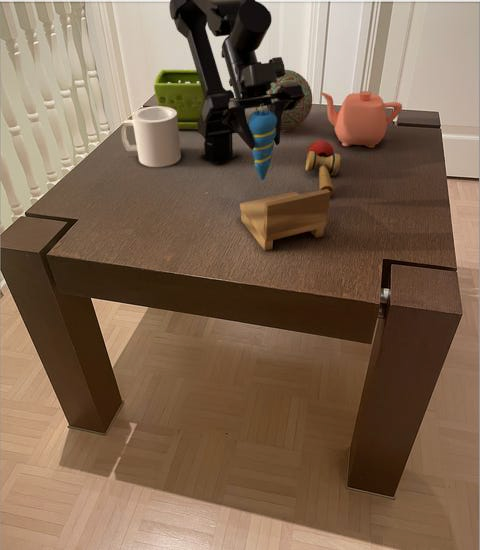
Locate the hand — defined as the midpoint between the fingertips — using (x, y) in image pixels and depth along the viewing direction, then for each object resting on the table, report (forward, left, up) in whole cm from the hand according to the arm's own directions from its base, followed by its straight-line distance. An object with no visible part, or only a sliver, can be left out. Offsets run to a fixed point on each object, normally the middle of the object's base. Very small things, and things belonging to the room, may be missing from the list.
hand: (265, 146), depth 84 cm
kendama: (-19, +2, -13) cm, 23 cm away
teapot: (-42, -3, -13) cm, 44 cm away
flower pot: (-22, -45, -13) cm, 52 cm away
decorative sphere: (-36, -22, -13) cm, 44 cm away
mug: (-2, -35, -13) cm, 38 cm away
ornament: (-1, -1, -8) cm, 8 cm away
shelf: (+3, +7, -13) cm, 15 cm away
